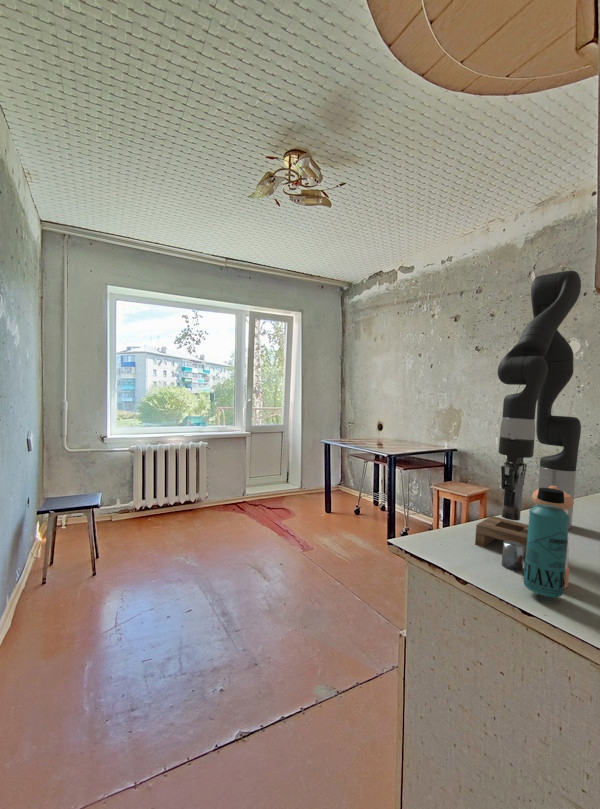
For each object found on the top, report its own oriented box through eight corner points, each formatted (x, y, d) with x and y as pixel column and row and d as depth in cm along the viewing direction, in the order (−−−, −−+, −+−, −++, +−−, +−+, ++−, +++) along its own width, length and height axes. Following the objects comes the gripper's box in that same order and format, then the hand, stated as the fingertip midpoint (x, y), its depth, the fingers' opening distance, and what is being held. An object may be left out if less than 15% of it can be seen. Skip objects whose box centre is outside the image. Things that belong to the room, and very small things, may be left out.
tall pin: (504, 514, 96) (508, 471, 96) (521, 518, 94) (525, 474, 93) (499, 516, 93) (503, 473, 93) (517, 521, 91) (521, 476, 90)
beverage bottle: (513, 589, 71) (521, 485, 71) (538, 585, 73) (546, 484, 73) (547, 608, 65) (555, 494, 65) (572, 603, 67) (581, 492, 67)
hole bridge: (490, 533, 102) (491, 515, 102) (541, 548, 94) (543, 528, 94) (475, 544, 93) (476, 524, 93) (530, 561, 85) (531, 539, 85)
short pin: (504, 561, 84) (506, 539, 84) (524, 567, 82) (526, 544, 82) (499, 566, 81) (500, 543, 81) (519, 573, 79) (521, 549, 79)
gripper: (508, 434, 101) (503, 497, 101) (491, 435, 91) (486, 506, 91) (540, 437, 96) (535, 504, 96) (527, 439, 86) (521, 514, 86)
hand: (511, 504), depth 93 cm, fingers closed on tall pin, 4 cm apart
